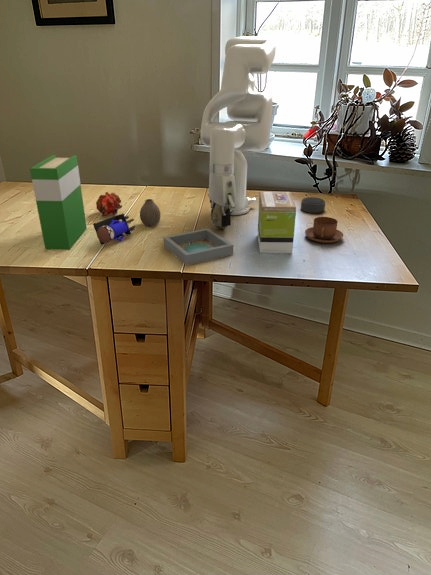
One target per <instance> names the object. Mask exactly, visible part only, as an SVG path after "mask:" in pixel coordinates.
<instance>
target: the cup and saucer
mask: <svg viewBox="0 0 431 575" xmlns="http://www.w3.org/2000/svg"><path fill="white" fill-rule="evenodd" d="M338 222H339V221H338V219H335V218H334V217H329V216H318V217H314V219H313V224H312V227H309V228H306V229H305V231H304V234H305V236H306V237H307V238H308V239H310V240H312V241H314V242H318V243H321V244H323V243H325V244H328V243H330V244H331V243H332V244H333V243H336V242H338V241H341V240H342V239H343V238H344V233H343V232H342V231H341V230H338V229H337V227H338Z"/></svg>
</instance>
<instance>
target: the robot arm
mask: <svg viewBox="0 0 431 575" xmlns="http://www.w3.org/2000/svg"><path fill="white" fill-rule="evenodd" d="M224 46H225V47H224V57H225V58H224V62H223V64H224V65H223V72H222V77H221V85H220V90H219V91H218V92H217V93H216V94H215V95H214V96H213V97H212V98H211V99H210V100H209V102H208V103H207V104H206V106H205V109H204V110H203V113H202V114H203V115H202V118H201V119H202V120H201V126H200V141H201V143H202V144H203V145H204V146H205V147H209V180H208V181H209V182H208V194H207V196H208V199H209V203H210V209H211V210H210V212H211V213H210V216H211V217H210V218H211V221H212V213H213V209H214V207H215V205H216V203H217V204H218V205H220V206H222V212H223V215H222V227H226V226H227V227H230V226H231V225H232V224H231V222H232V216H240V215H245V214H247V213H249V212H250V206H249V205H250V204H255V203H257V198H256V197H249V196H247V177H248V176H247V175H248V174H247V173H248V162H247V158H246V157H245V156H244V154H243V152H242V151H247V152H248V151H250V152H263V151H265V150H266V149H267V147H268V146H269V140H270V134H271V133H270V132H271V124H272V117H273V109H274V108H273V106H274V105H273V98H272V96H271V95H270V94H269V93H267V92H255V91H254V90H255V80H254V76H253V74H254V75H255V74H256V75H265V74H267V73H268V72H269V70H270V67H272V66H271V65H272V64H273V62H274V59H275V56H276V42H275V40H274V39H273V38H272V37H270V36H235V37H232V38H229V39H228V40H227V41H226V42H225V45H224ZM225 108H226V114H227V117H228V118H229V119H230V120H227V121H224V122H222V121H221V122H219V121H213V120H214V118H215V116H216V115H217V114H218V113H219V112H220V111H222V110H224V109H225ZM225 203H226V205H225ZM225 207H228V208H227V210H225ZM227 227H226V228H227Z"/></svg>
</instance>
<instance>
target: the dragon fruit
mask: <svg viewBox="0 0 431 575" xmlns="http://www.w3.org/2000/svg"><path fill="white" fill-rule="evenodd" d="M121 203H122V199H121V197H120V196H119V195H117V194H116V193H115V192H111V193H110V192H108V191H107V192H105V193H104V194H101V195H99V196H98V198H97V200H96V203H95V204H96V210H98V212H99V213H100V214H101V216H102V217H109V216H110V215H111V214H112V215H113V216H116V215H117V213H118V211H119V210H120V209H122V207H123V205H122V204H121Z"/></svg>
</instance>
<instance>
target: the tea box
mask: <svg viewBox="0 0 431 575" xmlns="http://www.w3.org/2000/svg"><path fill="white" fill-rule="evenodd" d="M296 216H297V206H296V203H295V201H294V198H293V197H292V193H291V191H259V194H258V216H257V218H258V219H257V241H258V248H259V253H260V254H293V248H294V239H295V238H294V237H295V227H296Z"/></svg>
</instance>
